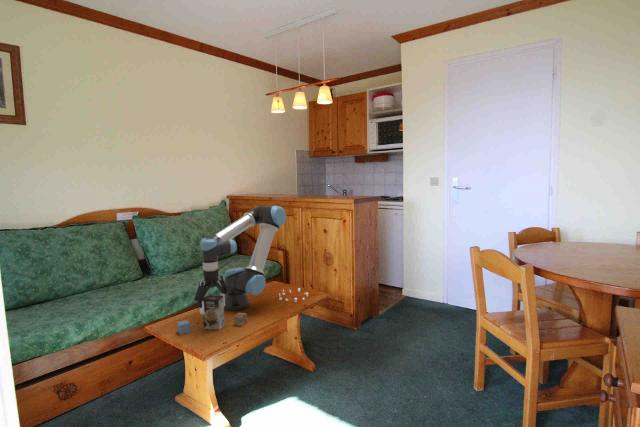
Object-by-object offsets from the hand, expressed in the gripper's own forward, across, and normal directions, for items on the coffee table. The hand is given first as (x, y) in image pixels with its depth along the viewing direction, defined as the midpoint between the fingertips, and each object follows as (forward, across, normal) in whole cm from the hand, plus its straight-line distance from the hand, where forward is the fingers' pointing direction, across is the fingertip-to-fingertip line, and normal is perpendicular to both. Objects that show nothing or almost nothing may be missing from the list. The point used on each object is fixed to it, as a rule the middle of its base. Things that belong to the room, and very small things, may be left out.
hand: (212, 309), depth 193 cm
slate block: (+10, +12, -9) cm, 18 cm away
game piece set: (+10, -58, +8) cm, 59 cm away
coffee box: (+10, 0, 0) cm, 10 cm away
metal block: (+10, -10, +9) cm, 17 cm away
